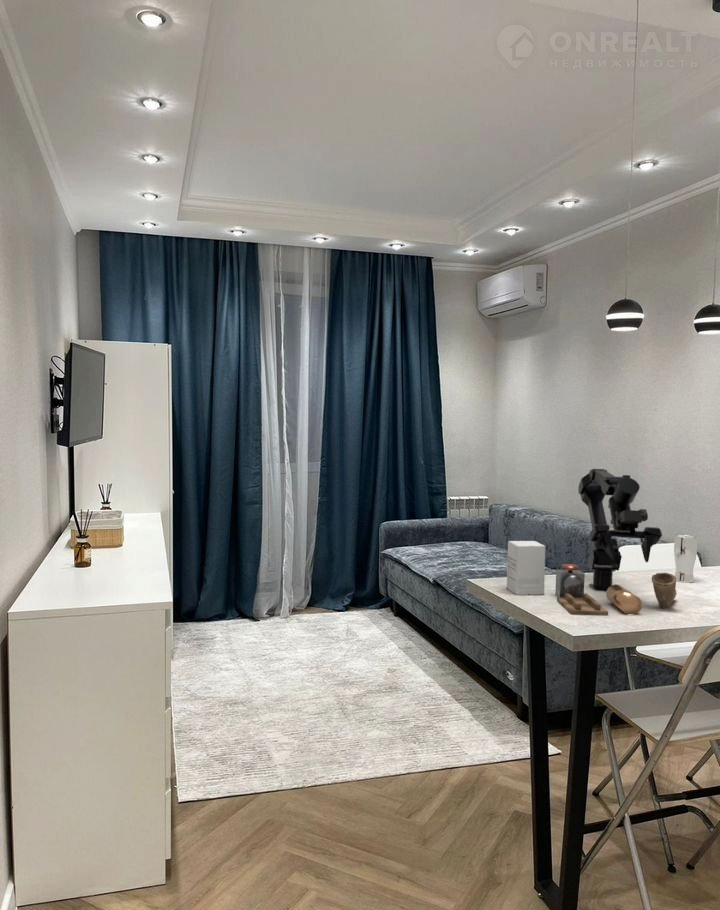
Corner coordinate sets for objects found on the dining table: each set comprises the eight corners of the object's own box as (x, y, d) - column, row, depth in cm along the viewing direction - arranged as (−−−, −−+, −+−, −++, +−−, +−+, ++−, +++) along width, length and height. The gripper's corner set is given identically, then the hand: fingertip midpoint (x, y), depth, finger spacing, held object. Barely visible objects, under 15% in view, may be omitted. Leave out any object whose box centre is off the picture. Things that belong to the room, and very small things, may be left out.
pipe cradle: (557, 600, 202) (557, 592, 202) (591, 601, 202) (591, 593, 202) (571, 614, 188) (571, 604, 188) (608, 615, 188) (608, 605, 188)
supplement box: (533, 587, 218) (535, 540, 217) (544, 595, 209) (546, 545, 208) (505, 587, 216) (507, 540, 216) (515, 595, 208) (517, 545, 207)
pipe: (683, 601, 205) (685, 567, 205) (672, 613, 192) (674, 577, 191) (660, 597, 209) (662, 564, 209) (648, 609, 195) (649, 574, 195)
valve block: (555, 594, 209) (556, 563, 209) (578, 595, 209) (579, 564, 209) (561, 600, 202) (563, 568, 202) (585, 601, 202) (587, 569, 202)
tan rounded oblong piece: (606, 604, 201) (605, 585, 201) (626, 602, 201) (625, 583, 201) (621, 615, 189) (620, 595, 189) (642, 614, 189) (641, 594, 189)
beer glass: (670, 577, 237) (673, 534, 236) (693, 579, 235) (695, 535, 235) (674, 582, 231) (676, 537, 230) (697, 583, 229) (699, 538, 228)
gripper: (597, 496, 197) (605, 544, 187) (663, 500, 196) (675, 548, 187) (586, 517, 206) (593, 564, 196) (649, 520, 205) (660, 568, 196)
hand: (630, 560), depth 194 cm, fingers open, 9 cm apart
